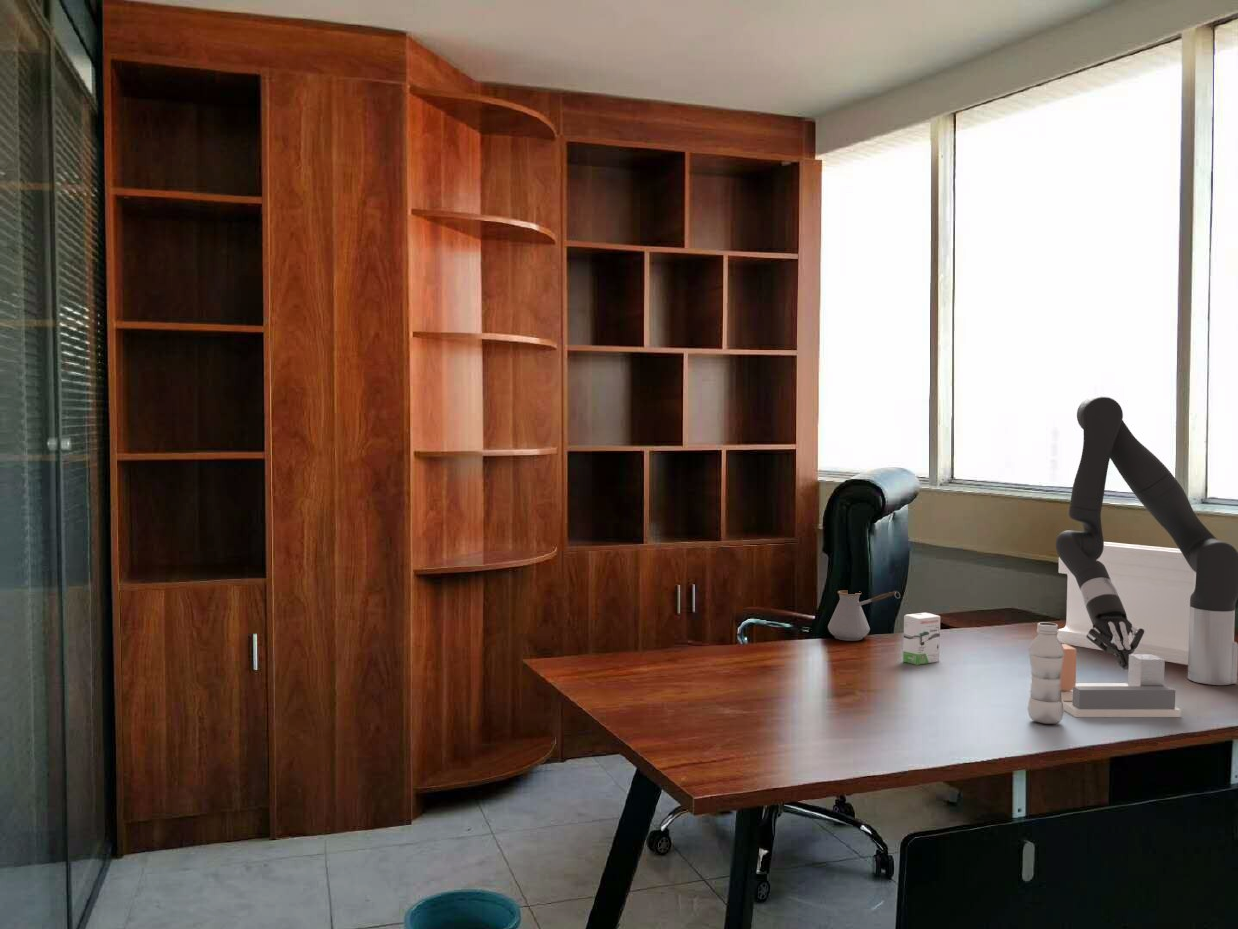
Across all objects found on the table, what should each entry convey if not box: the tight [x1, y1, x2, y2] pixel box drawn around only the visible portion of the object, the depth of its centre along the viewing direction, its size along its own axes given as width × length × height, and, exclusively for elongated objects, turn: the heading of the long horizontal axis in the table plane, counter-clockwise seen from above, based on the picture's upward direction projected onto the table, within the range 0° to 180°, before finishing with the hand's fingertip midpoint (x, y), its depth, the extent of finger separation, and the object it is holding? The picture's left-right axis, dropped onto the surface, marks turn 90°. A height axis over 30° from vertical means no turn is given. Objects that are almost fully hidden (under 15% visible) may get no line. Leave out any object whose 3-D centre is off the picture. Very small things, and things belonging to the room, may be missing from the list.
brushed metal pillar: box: [1127, 654, 1166, 686], centre depth 224 cm, size 5×5×9 cm
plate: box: [1030, 682, 1182, 718], centre depth 229 cm, size 22×22×6 cm
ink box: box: [902, 612, 941, 666], centre depth 267 cm, size 9×5×12 cm, turn 123°
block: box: [1056, 541, 1196, 666], centre depth 280 cm, size 35×8×28 cm, turn 41°
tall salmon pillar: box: [1060, 643, 1077, 690], centre depth 234 cm, size 5×5×9 cm
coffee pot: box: [827, 589, 901, 642], centre depth 291 cm, size 21×12×15 cm, turn 44°
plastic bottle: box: [1027, 621, 1065, 725], centre depth 213 cm, size 6×7×20 cm
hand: (1129, 667), depth 232 cm, fingers closed
